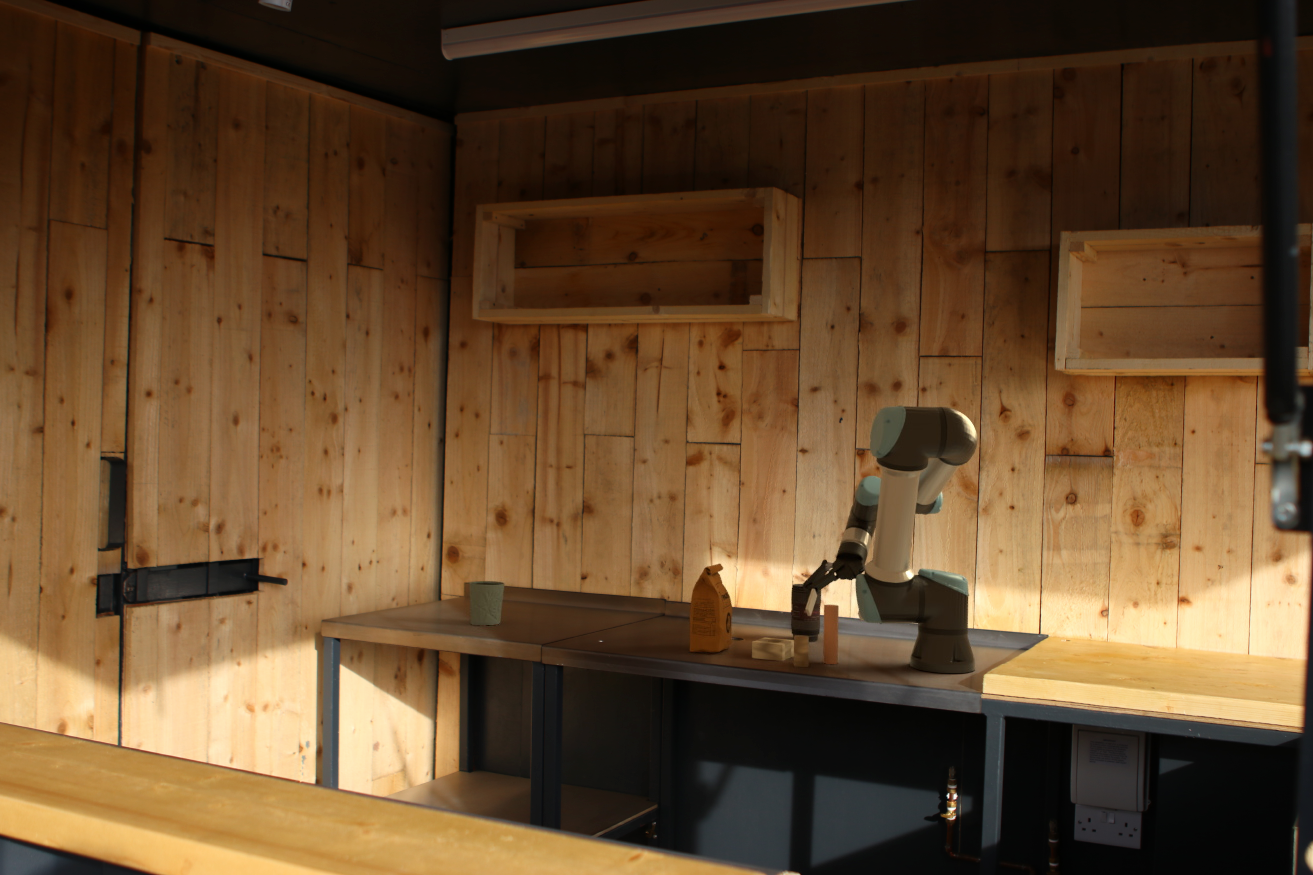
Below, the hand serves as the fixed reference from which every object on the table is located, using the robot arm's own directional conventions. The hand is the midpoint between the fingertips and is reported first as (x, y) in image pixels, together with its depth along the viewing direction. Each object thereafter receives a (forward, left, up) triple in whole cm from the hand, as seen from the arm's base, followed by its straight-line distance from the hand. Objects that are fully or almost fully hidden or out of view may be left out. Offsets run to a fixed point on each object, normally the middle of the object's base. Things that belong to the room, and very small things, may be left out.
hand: (833, 614), depth 276 cm
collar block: (+14, +5, -11) cm, 19 cm away
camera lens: (+16, -24, -11) cm, 31 cm away
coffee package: (+31, +5, -11) cm, 33 cm away
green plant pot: (+105, +1, -11) cm, 106 cm away
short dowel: (+4, +12, -11) cm, 17 cm away
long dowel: (-1, +5, -11) cm, 12 cm away
